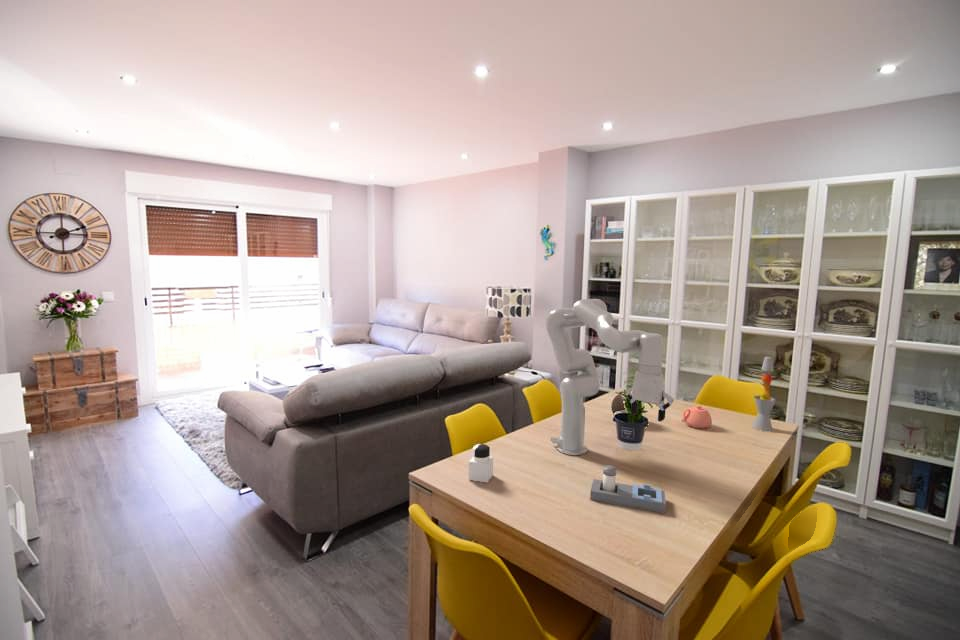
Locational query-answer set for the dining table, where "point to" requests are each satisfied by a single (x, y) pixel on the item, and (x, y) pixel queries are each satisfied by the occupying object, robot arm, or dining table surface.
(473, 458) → the medicine bottle
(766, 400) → the lava lamp
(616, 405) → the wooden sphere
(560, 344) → the robot arm
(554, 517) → the dining table surface
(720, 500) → the dining table surface
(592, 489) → the grey slotted holder
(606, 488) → the plug
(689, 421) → the pink rounded piece
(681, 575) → the dining table surface
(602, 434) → the dining table surface
